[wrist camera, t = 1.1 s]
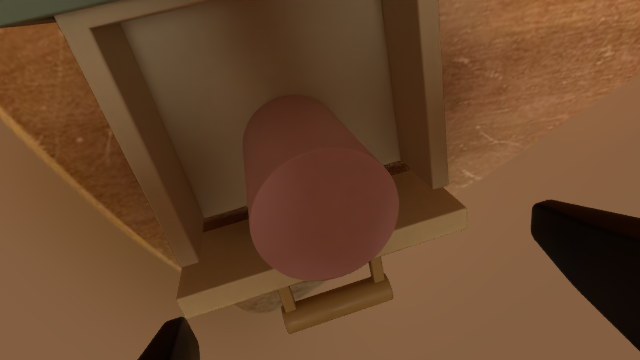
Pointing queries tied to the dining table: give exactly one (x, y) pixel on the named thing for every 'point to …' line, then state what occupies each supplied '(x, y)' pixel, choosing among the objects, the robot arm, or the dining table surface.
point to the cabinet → (40, 10)
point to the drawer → (240, 105)
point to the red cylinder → (314, 191)
